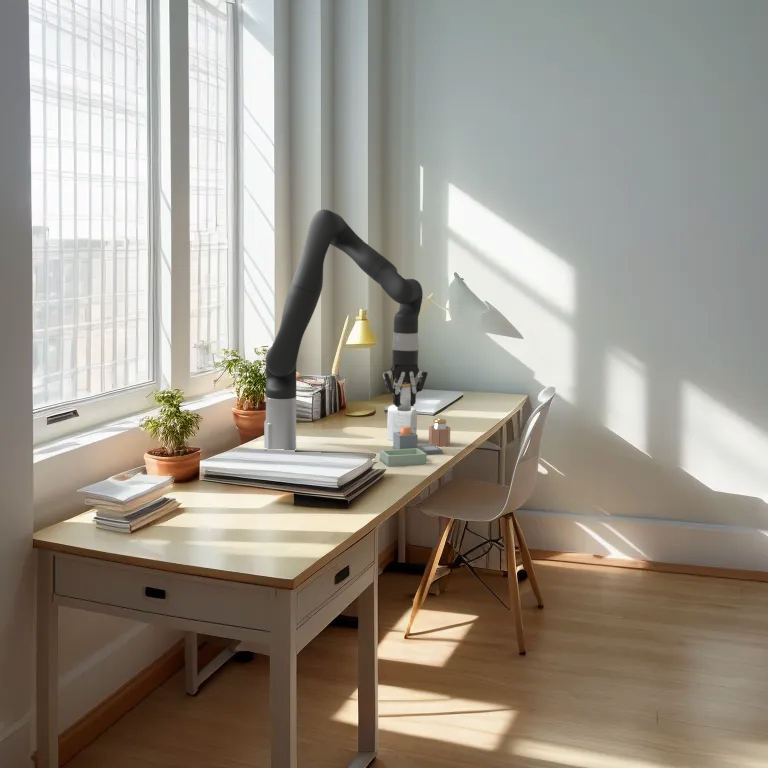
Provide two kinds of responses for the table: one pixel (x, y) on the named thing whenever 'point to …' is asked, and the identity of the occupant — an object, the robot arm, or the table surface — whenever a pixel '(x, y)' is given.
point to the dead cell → (439, 423)
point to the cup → (439, 436)
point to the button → (405, 430)
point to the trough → (403, 457)
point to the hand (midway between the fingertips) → (404, 405)
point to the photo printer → (400, 420)
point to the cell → (405, 397)
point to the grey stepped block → (413, 443)
